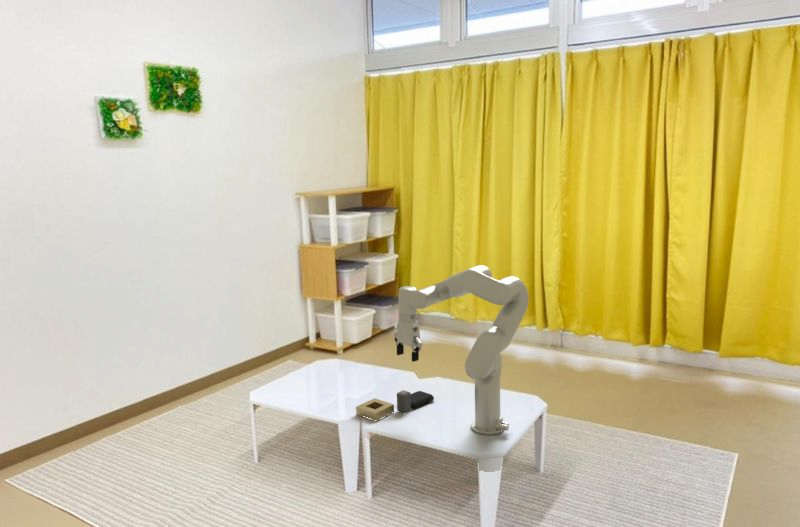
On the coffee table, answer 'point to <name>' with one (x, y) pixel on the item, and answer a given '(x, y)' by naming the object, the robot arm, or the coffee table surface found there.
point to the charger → (403, 401)
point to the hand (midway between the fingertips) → (407, 357)
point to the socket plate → (374, 409)
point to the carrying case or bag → (420, 399)
